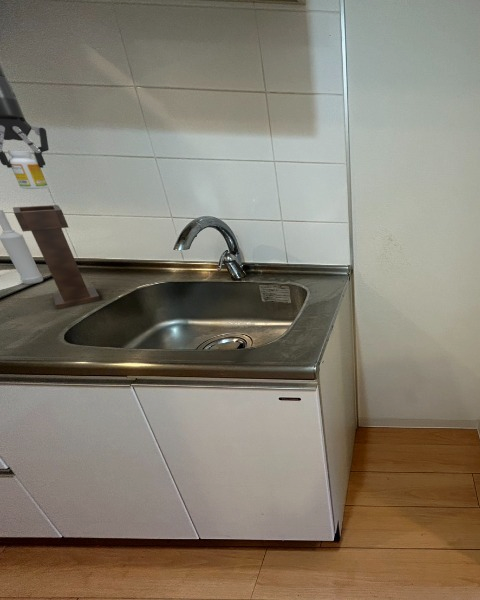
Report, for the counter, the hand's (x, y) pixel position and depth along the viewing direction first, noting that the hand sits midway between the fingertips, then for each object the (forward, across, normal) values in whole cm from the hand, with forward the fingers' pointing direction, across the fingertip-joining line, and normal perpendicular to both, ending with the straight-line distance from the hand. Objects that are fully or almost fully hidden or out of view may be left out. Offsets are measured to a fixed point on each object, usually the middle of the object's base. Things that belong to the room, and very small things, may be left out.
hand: (25, 167), depth 86 cm
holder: (+40, +2, +3) cm, 40 cm away
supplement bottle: (+6, 0, 0) cm, 6 cm away
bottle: (+40, +10, -24) cm, 47 cm away
